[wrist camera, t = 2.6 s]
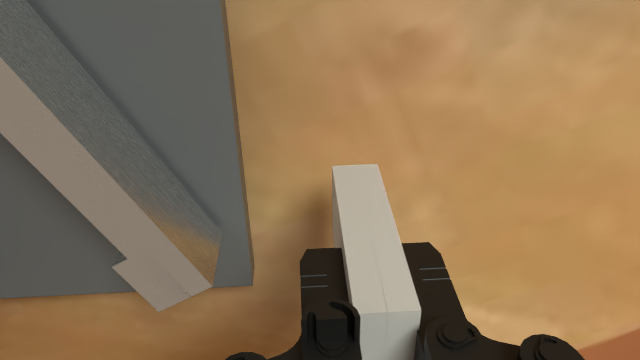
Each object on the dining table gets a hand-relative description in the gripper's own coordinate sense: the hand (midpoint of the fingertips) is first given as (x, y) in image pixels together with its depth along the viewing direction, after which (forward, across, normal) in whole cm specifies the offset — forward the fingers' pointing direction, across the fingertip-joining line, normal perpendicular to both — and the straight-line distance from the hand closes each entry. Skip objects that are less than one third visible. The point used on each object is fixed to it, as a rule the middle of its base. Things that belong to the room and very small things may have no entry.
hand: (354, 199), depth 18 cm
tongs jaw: (+2, -9, +4) cm, 10 cm away
